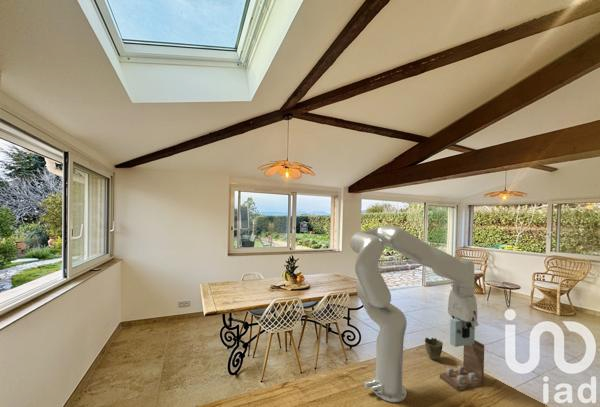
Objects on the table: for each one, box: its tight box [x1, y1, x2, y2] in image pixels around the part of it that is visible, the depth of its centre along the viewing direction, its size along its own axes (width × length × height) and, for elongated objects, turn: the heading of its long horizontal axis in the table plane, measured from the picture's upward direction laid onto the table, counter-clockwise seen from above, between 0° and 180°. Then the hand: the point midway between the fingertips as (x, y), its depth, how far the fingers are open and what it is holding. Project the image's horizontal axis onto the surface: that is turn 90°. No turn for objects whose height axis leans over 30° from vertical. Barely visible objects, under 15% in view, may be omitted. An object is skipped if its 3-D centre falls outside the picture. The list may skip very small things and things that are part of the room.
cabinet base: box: [439, 339, 485, 391], centre depth 107 cm, size 14×8×16 cm, turn 108°
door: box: [449, 318, 476, 348], centre depth 107 cm, size 10×3×10 cm, turn 108°
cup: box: [424, 337, 444, 361], centre depth 123 cm, size 8×7×8 cm
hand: (462, 335), depth 107 cm, fingers closed on door, 2 cm apart
